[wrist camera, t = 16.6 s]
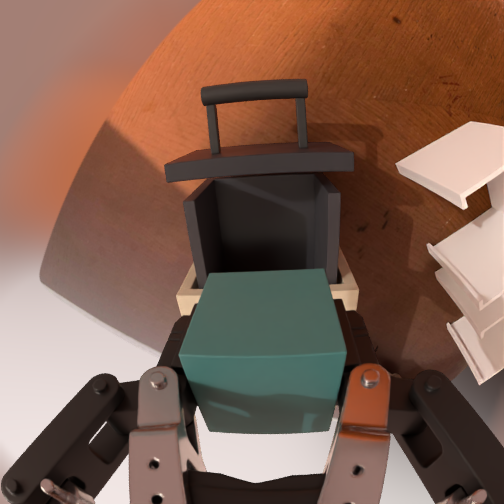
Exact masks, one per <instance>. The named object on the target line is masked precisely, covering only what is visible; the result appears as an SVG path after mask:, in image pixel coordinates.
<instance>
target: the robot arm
mask: <svg viewBox="0 0 504 504" xmlns="http://www.w3.org/2000/svg"><path fill="white" fill-rule="evenodd" d="M333 300H334V304H335V307H336V311H337V314H338V318H339V322H340V326H341V329H342V333H343V337H344V341H345V345H346V349H347V356H346V361H345V366H344V371H343V376H342V380H341V385H340V389H339V393H338V398H337V402H336V405H338V406H339V413H340V414H339V417H338V421H337V425H336V429H335V433H334V437H333V441H332V444H331V448H330V452H329V455H328V459H327V462H326V465H325V468H324V471H323V473H322V474H310V475H292V476H288V477H284V478H279V479H275V480H270V481H265V482H260V483H251V482H248V481H244V480H240V479H237V478H233V477H230V476H227V475H224V474H221V473H211V472H207V471H206V468H205V465H204V462H203V459H202V454H201V448H200V442H199V435H198V429H197V422H196V417H195V411H196V407H197V406H198V404H197V402H196V399H195V397H194V394H193V392H192V389H191V387H190V384H189V382H188V379H187V377H186V374H185V371H184V369H183V366H182V363H181V361H180V358H179V352H180V349H181V346H182V344H183V341H184V338H185V336H186V333H187V330H188V328H189V325H190V322H191V320H192V317H193V314H194V312H195V309H196V307H197V304H198V303H195V304H194V306H193V309H192V311H191V314H190V315H183V316H182V317H181V318H180V319H179V320H178V321H177V322H175V324H174V327H173V329H172V331H171V333H170V336H169V338H168V341H167V343H166V345H165V347H164V350H163V352H162V354H161V357H160V359H159V362H158V364H157V366H156V367H153V368H151V369H149V370H147V371H146V372H145V373H144V374H143V375H142V376H141V378H140V380H137V381H131V382H123V383H119V382H118V380H117V378H116V377H115V376H113V375H111V374H106V373H104V374H99V375H97V376H95V377H93V378H92V379H91V380H89V382H88V383H87V384H86V385H85V386H84V387H83V388H82V389H81V390H80V391H79V392H78V393H77V395H76V396H75V397H74V398H73V399H72V400H71V401H70V402H69V403H68V404H67V405H66V406H65V407H64V408H63V410H62V411H61V412H60V413H59V414H58V415H57V416H56V417H55V418H54V419H53V420H52V421H51V423H50V424H49V425H48V426H47V427H46V428H45V429H44V430H43V431H42V433H41V434H40V435H39V436H38V437H37V438H36V440H34V442H33V443H32V444H31V445H30V446H29V447H28V448H27V449H26V451H25V452H24V453H23V454H22V455H21V456H20V458H19V459H18V460H17V461H16V462H15V463H14V464H13V466H12V467H11V468H10V469H9V470H8V472H7V473H6V474H5V475H4V476H3V479H2V483H1V490H2V493H3V495H4V497H5V499H6V500H7V501H8V502H10V503H11V504H95V501H94V499H95V497H96V496H97V495H98V494H99V492H100V491H101V490H102V488H103V487H104V486H105V484H106V483H107V482H108V480H109V479H110V478H111V476H112V475H113V473H114V472H115V471H116V470H117V468H118V467H119V466H120V464H121V463H122V462H123V460H124V459H125V458H126V456H127V455H128V454H129V492H130V504H379V502H380V498H381V493H382V488H383V484H384V478H385V473H386V467H387V460H388V454H389V446H390V433H392V434H393V435H394V437H395V438H396V440H397V442H398V443H399V445H400V447H401V448H402V450H403V451H404V453H405V454H406V456H407V458H408V459H409V461H410V463H411V464H412V466H413V468H414V469H415V471H416V473H417V474H418V476H419V478H420V479H421V481H422V483H423V484H424V486H425V487H426V489H427V491H428V493H429V494H430V496H431V498H432V499H433V501H434V503H435V504H504V448H503V446H502V445H501V443H500V442H499V441H498V439H497V438H496V437H495V435H494V434H493V433H492V431H491V430H490V429H489V428H488V426H487V425H486V424H485V423H484V422H483V420H482V419H481V418H480V416H479V415H478V414H477V413H476V411H475V410H474V409H473V408H472V406H471V405H470V404H469V403H468V402H467V400H466V399H465V398H464V397H463V396H462V395H461V393H460V392H459V391H458V390H457V388H456V387H455V386H454V385H453V384H452V383H451V381H450V380H449V379H448V378H447V377H446V376H445V375H444V374H443V373H441V372H439V371H436V370H425V371H422V372H420V373H419V374H418V375H417V376H416V377H415V379H405V378H397V377H394V376H391V375H389V373H388V371H387V370H386V369H385V368H383V367H382V366H380V365H379V363H378V360H377V357H376V354H375V351H374V348H373V345H372V342H371V340H370V337H369V334H368V331H367V329H366V326H365V323H364V320H363V317H361V316H360V315H359V314H358V313H357V312H356V311H355V310H347V311H346V310H345V306H344V303H343V300H342V299H333ZM105 422H107V423H106V424H105V426H104V427H103V428H102V429H101V430H100V432H99V433H98V434H97V435H96V436H95V438H94V439H93V440H92V441H91V443H90V444H89V442H90V440H91V438H92V437H93V436H94V435H95V434H96V432H97V431H98V430H99V429H100V428H101V426H102V425H103V424H104V423H105Z"/></svg>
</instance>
